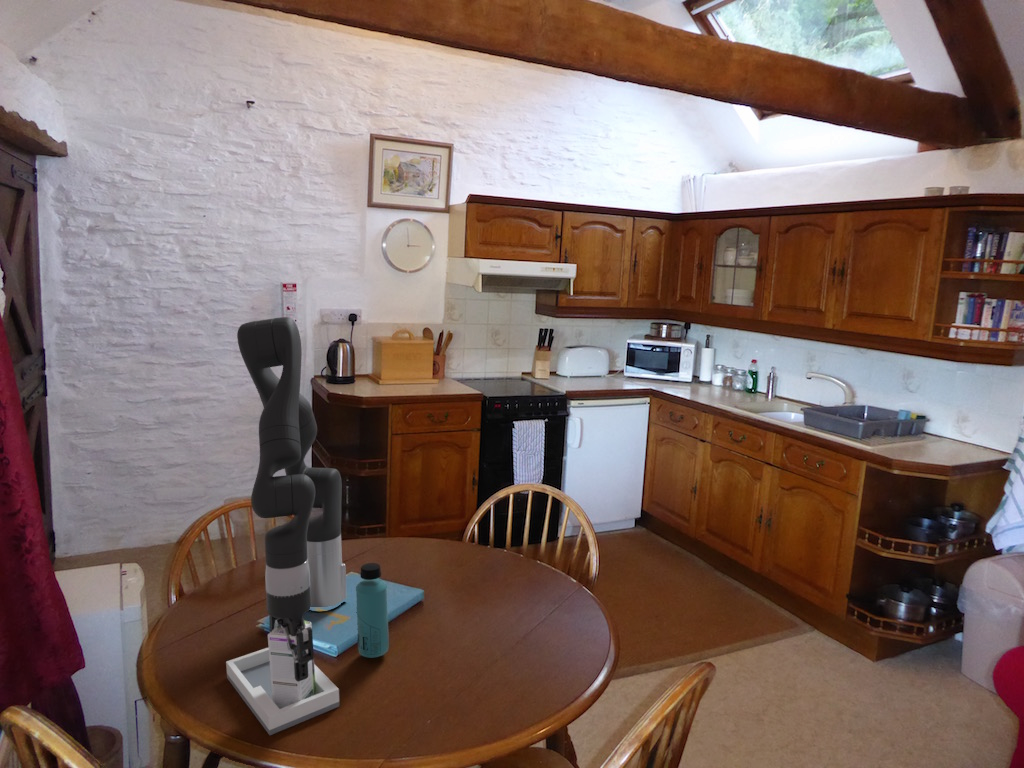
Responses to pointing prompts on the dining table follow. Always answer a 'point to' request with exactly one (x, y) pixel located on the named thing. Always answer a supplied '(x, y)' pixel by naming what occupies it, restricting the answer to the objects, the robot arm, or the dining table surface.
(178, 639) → the dining table surface
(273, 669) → the syrup box
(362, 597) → the beverage bottle
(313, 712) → the white shallow tray
